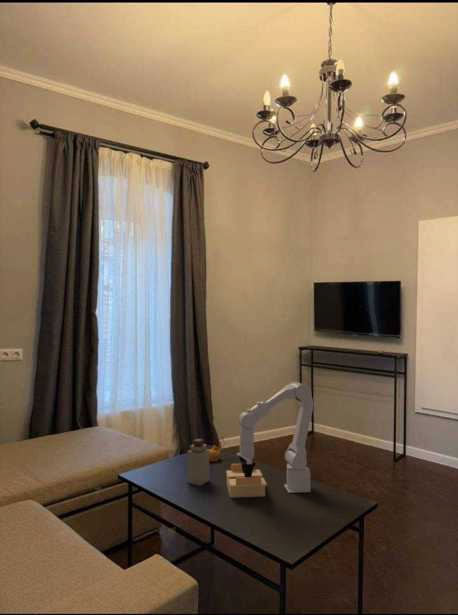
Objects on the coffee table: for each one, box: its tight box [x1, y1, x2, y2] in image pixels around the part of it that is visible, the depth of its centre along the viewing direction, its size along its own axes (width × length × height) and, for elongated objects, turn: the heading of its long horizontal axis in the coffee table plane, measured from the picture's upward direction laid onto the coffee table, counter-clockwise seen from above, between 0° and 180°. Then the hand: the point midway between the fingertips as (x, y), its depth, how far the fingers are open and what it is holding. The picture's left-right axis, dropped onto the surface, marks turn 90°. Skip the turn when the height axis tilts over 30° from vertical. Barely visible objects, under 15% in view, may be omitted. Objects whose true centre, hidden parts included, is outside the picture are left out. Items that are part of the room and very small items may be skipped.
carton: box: [226, 475, 266, 499], centre depth 181 cm, size 14×14×5 cm
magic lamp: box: [208, 435, 226, 462], centre depth 219 cm, size 7×18×11 cm, turn 125°
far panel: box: [225, 463, 263, 478], centre depth 185 cm, size 14×7×3 cm, turn 96°
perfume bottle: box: [186, 438, 210, 487], centre depth 190 cm, size 7×7×18 cm
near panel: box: [229, 476, 268, 487], centre depth 176 cm, size 14×7×3 cm, turn 96°
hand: (246, 476), depth 177 cm, fingers open, 7 cm apart
